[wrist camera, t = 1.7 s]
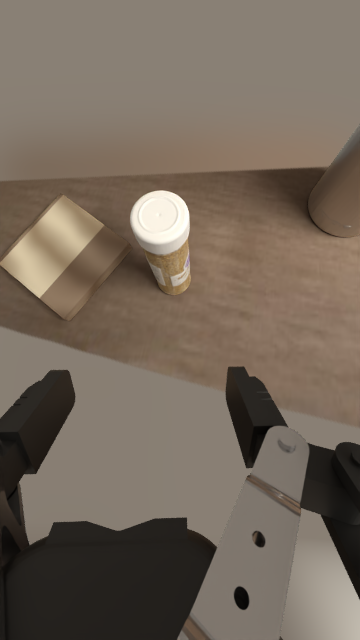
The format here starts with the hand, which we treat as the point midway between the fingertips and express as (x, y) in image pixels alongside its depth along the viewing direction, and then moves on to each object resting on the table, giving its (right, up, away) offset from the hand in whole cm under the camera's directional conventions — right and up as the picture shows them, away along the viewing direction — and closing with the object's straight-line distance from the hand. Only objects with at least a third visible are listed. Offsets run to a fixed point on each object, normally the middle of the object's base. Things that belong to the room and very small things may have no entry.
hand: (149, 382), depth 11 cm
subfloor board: (-14, +12, +20) cm, 27 cm away
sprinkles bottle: (+1, +9, +18) cm, 20 cm away
